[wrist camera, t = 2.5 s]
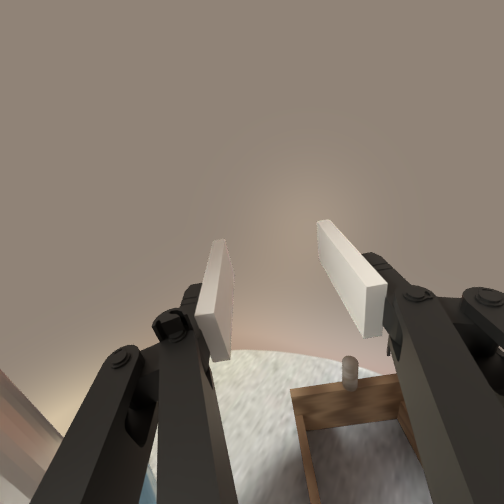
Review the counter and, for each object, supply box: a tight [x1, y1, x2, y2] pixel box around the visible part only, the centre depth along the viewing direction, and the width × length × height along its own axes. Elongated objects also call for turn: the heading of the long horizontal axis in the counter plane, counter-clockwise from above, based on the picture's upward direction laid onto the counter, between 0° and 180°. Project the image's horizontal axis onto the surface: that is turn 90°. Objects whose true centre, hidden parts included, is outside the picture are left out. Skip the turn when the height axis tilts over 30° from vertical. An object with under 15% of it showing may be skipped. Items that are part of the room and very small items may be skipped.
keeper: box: [290, 356, 423, 504], centre depth 31 cm, size 17×12×15 cm
